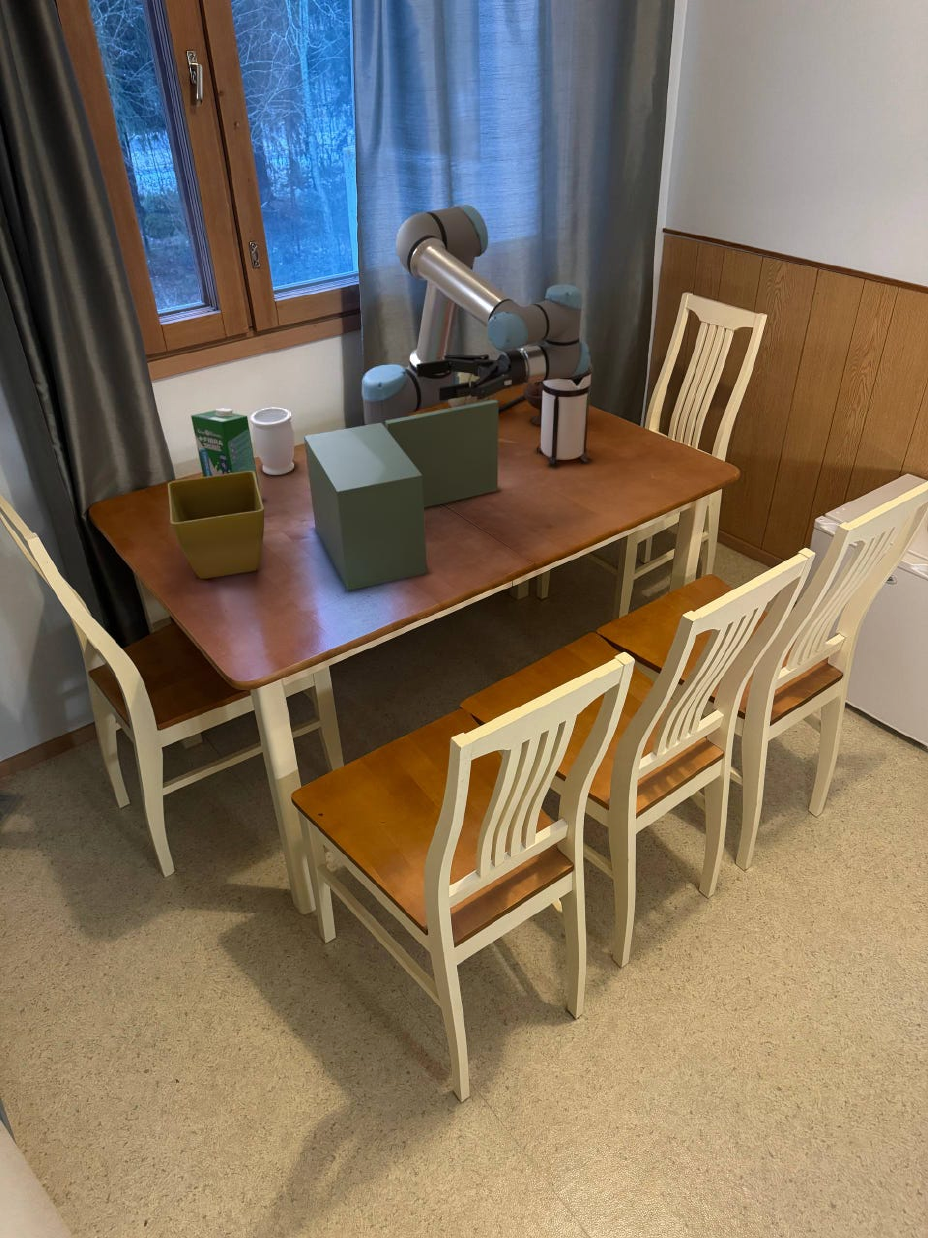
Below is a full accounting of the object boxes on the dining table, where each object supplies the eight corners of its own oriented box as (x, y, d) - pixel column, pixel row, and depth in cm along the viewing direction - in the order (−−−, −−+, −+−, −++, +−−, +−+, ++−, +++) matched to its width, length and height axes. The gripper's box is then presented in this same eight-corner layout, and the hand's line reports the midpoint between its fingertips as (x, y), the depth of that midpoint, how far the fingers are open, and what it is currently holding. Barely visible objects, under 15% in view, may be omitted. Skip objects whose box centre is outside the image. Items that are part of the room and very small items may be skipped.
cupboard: (388, 514, 225) (381, 422, 211) (426, 573, 204) (422, 475, 189) (315, 529, 220) (303, 435, 205) (347, 591, 198) (337, 491, 184)
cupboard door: (382, 501, 230) (376, 411, 216) (484, 478, 239) (484, 390, 225) (393, 514, 224) (387, 423, 210) (497, 490, 233) (498, 401, 219)
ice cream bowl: (518, 426, 264) (519, 376, 255) (530, 411, 273) (532, 362, 264) (553, 432, 261) (555, 381, 252) (565, 416, 269) (567, 366, 260)
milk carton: (261, 500, 231) (246, 406, 216) (239, 517, 225) (222, 421, 210) (231, 494, 234) (214, 400, 220) (209, 510, 228) (190, 414, 213)
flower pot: (275, 576, 203) (264, 509, 194) (186, 591, 199) (170, 523, 189) (264, 533, 218) (254, 469, 208) (181, 547, 214) (167, 482, 204)
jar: (290, 479, 240) (282, 425, 231) (252, 475, 242) (243, 422, 233) (303, 460, 249) (296, 408, 240) (267, 457, 250) (259, 405, 242)
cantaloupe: (440, 420, 268) (438, 370, 260) (449, 400, 280) (448, 351, 271) (490, 423, 266) (491, 373, 257) (497, 402, 278) (498, 354, 269)
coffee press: (601, 450, 251) (610, 341, 234) (574, 473, 240) (581, 361, 223) (545, 436, 259) (549, 329, 241) (516, 458, 248) (519, 348, 230)
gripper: (544, 404, 193) (449, 421, 187) (497, 363, 212) (409, 378, 205) (546, 370, 188) (448, 386, 182) (497, 331, 207) (407, 344, 201)
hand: (427, 381), depth 194 cm, fingers open, 13 cm apart
